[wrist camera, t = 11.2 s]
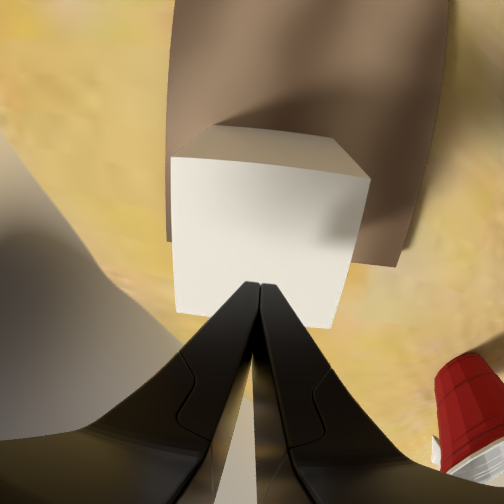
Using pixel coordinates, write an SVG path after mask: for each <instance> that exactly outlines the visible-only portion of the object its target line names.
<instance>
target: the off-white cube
mask: <svg viewBox="0 0 504 504" xmlns="http://www.w3.org/2000/svg"><path fill="white" fill-rule="evenodd" d="M370 181H371V179H370V177H369V176H368V175H367V174H366V173H365V172H364V171H363V170H362V169H361V167H360V166H359V165H358V164H357V163H356V162H355V161H354V160H353V159H352V158H351V157H350V156H349V155H348V154H347V152H346V151H345V150H344V149H343V148H342V147H341V146H340V145H339V144H338V143H337V142H336V141H335V140H334V139H333V138H329V137H322V136H316V135H309V134H302V133H294V132H286V131H278V130H268V129H259V128H248V127H236V126H221V125H212V126H211V127H210V128H208V129H207V130H205V131H204V132H203V133H201V134H200V135H199V136H197V137H196V138H195V139H193V140H192V141H191V142H189V143H188V144H187V145H185V146H184V147H183V148H181V149H180V150H179V151H178V152H176V153H175V154H174V155H172V156H171V225H172V252H173V271H174V288H175V302H176V312H179V313H186V314H193V315H200V316H208V317H212V316H213V315H214V313H215V312H216V311H217V310H218V309H219V308H220V307H221V306H222V305H223V304H224V303H225V302H226V301H227V300H228V299H229V298H230V296H231V295H232V294H233V293H234V292H235V291H236V290H237V289H238V288H239V287H240V286H241V285H242V284H243V283H244V282H245V281H251V282H259V283H260V286H261V284H262V283H269V284H276V285H277V286H278V288H279V289H280V291H281V292H282V294H283V295H284V297H285V298H286V300H287V301H288V303H289V304H290V306H291V307H292V309H293V310H294V312H295V313H296V315H297V316H298V318H299V319H300V321H301V322H302V324H303V325H304V327H314V328H328V329H330V328H331V325H332V322H333V319H334V316H335V313H336V309H337V306H338V303H339V300H340V296H341V293H342V290H343V286H344V283H345V280H346V276H347V273H348V269H349V266H350V262H351V258H352V255H353V251H354V247H355V244H356V240H357V236H358V232H359V228H360V224H361V220H362V216H363V212H364V207H365V203H366V199H367V194H368V190H369V185H370Z"/></svg>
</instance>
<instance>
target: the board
mask: <svg viewBox="0 0 504 504" xmlns="http://www.w3.org/2000/svg"><path fill="white" fill-rule="evenodd" d="M448 8H449V0H175V7H174V16H173V26H172V36H171V47H170V59H169V74H168V91H167V113H166V156H165V187H166V231H167V241H168V242H172V225H171V156H172V155H174V154H175V153H176V152H178V151H179V150H180V149H181V148H183V147H184V146H185V145H187V144H188V143H189V142H191V141H192V140H193V139H195V138H196V137H197V136H199V135H200V134H201V133H203V132H204V131H205V130H207V129H208V128H210V127H211V126H212V125H221V126H236V127H248V128H259V129H268V130H278V131H286V132H294V133H302V134H309V135H316V136H322V137H329V138H333V139H334V140H335V141H336V142H337V143H338V144H339V145H340V146H341V147H342V148H343V149H344V150H345V151H346V152H347V154H348V155H349V156H350V157H351V158H352V159H353V160H354V161H355V162H356V163H357V164H358V165H359V166H360V167H361V169H362V170H363V171H364V172H365V173H366V174H367V175H368V176H369V177H370V179H371V181H370V185H369V190H368V194H367V199H366V203H365V207H364V212H363V216H362V220H361V224H360V228H359V232H358V236H357V240H356V244H355V247H354V251H353V255H352V258H351V262H353V263H362V264H370V265H379V266H388V267H396V265H397V262H398V259H399V256H400V254H401V251H402V248H403V245H404V242H405V238H406V235H407V232H408V229H409V226H410V223H411V219H412V216H413V213H414V209H415V206H416V202H417V199H418V195H419V191H420V188H421V184H422V180H423V176H424V172H425V168H426V164H427V159H428V155H429V151H430V146H431V141H432V137H433V132H434V127H435V121H436V116H437V110H438V105H439V98H440V92H441V85H442V78H443V70H444V62H445V52H446V41H447V28H448Z"/></svg>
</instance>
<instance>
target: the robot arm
mask: <svg viewBox="0 0 504 504" xmlns="http://www.w3.org/2000/svg"><path fill="white" fill-rule="evenodd" d="M252 354H253V356H252ZM251 361H252V380H253V407H254V434H255V460H256V485H257V504H504V487H494V486H489V485H485V484H481V483H477V482H474V481H470V480H467V479H463V478H460V477H457V476H453V475H450V474H447V473H444V472H441V471H438V470H435V469H432V468H429V467H426V466H423V465H421V464H418V463H416V462H414V461H412V460H411V459H409V458H408V457H406V456H405V455H404V454H403V453H402V452H400V451H399V450H398V449H397V448H396V447H395V446H394V444H393V443H392V442H391V441H390V440H389V439H388V438H387V437H386V435H385V434H384V433H383V432H382V431H381V430H380V429H379V427H378V426H377V425H376V424H375V423H374V422H373V421H372V419H371V418H370V417H369V416H368V415H367V414H366V413H365V411H364V410H363V409H362V408H361V407H360V405H359V404H358V403H357V402H356V400H355V399H354V398H353V397H352V396H351V394H350V393H349V392H348V390H347V389H346V387H345V386H344V385H343V383H342V382H341V380H340V379H339V377H338V376H337V374H336V373H335V371H334V370H333V369H332V368H331V366H330V364H329V363H328V361H327V360H326V358H325V357H324V355H323V354H322V352H321V351H320V349H319V348H318V346H317V345H316V343H315V342H314V340H313V339H312V337H311V336H310V334H309V333H308V331H307V330H306V328H305V327H304V325H303V324H302V322H301V321H300V319H299V318H298V316H297V315H296V313H295V312H294V310H293V309H292V307H291V306H290V304H289V303H288V301H287V300H286V298H285V297H284V295H283V294H282V292H281V291H280V289H279V288H278V286H277V285H276V284H269V283H262V284H261V286H260V283H259V282H251V281H245V282H244V283H243V284H242V285H241V286H240V287H239V288H238V289H237V290H236V291H235V292H234V293H233V294H232V295H231V296H230V298H229V299H228V300H227V301H226V302H225V303H224V304H223V305H222V306H221V307H220V308H219V309H218V310H217V311H216V312H215V313H214V315H213V316H212V317H211V318H210V319H209V320H208V321H207V322H206V323H205V324H204V325H203V326H202V327H201V328H200V329H199V330H198V331H197V332H196V334H195V335H194V336H193V337H192V338H191V339H190V340H189V341H188V342H187V343H186V344H185V345H184V346H183V347H182V348H181V349H180V350H179V352H178V353H176V354H175V355H174V356H173V358H172V359H171V360H170V361H169V362H168V363H167V364H166V365H165V366H164V367H162V368H161V369H160V371H158V372H157V373H156V374H155V375H154V376H153V377H152V378H151V379H149V380H148V381H147V382H146V383H144V384H143V385H142V386H141V387H140V388H138V389H137V390H136V391H135V392H133V393H132V394H131V395H130V396H128V397H127V398H126V399H124V400H123V401H122V402H120V403H119V404H118V405H116V406H115V407H114V408H113V409H111V410H110V411H109V412H108V413H106V414H105V415H103V416H102V417H101V418H99V419H98V420H96V421H95V422H93V423H91V424H90V425H88V426H86V427H83V428H81V429H78V430H75V431H71V432H65V433H59V434H52V435H45V436H38V437H31V438H22V439H13V440H2V441H0V504H213V503H214V501H215V497H216V493H217V490H218V487H219V483H220V480H221V476H222V472H223V469H224V465H225V462H226V458H227V454H228V450H229V447H230V443H231V439H232V436H233V432H234V428H235V424H236V421H237V417H238V413H239V409H240V405H241V401H242V398H243V394H244V390H245V386H246V382H247V378H248V374H249V370H250V366H251Z"/></svg>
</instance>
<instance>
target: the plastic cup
mask: <svg viewBox="0 0 504 504" xmlns="http://www.w3.org/2000/svg"><path fill="white" fill-rule="evenodd" d="M435 396H436V403H437V418H438V427H439V438H440V450H441V460H440V465H441V469H440V471H441V472H444V473H447V474H450V475H453V476H457V477H460V478H463V479H467V480H470V481H474V482H477V483H481V484H483V483H486V482H488V481H490V480H492V479H494V478H496V477H497V476H499V475H501V474H502V473H504V383H503V382H502V381H501V379H500V378H499V377H498V375H497V374H495V373H494V372H493V370H492V369H491V368H490V366H489V365H488V364H487V362H486V361H485V360H484V359H483V358H481V356H480V355H478V354H476V353H469V354H464V355H462V356H459V357H457V358H455V359H453V360H452V361H450V362H449V363H447V364H446V365H445V366H444V367H443V368H442V369H441V370H440V371H439V372H438V374H437V376H436V377H435Z"/></svg>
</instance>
